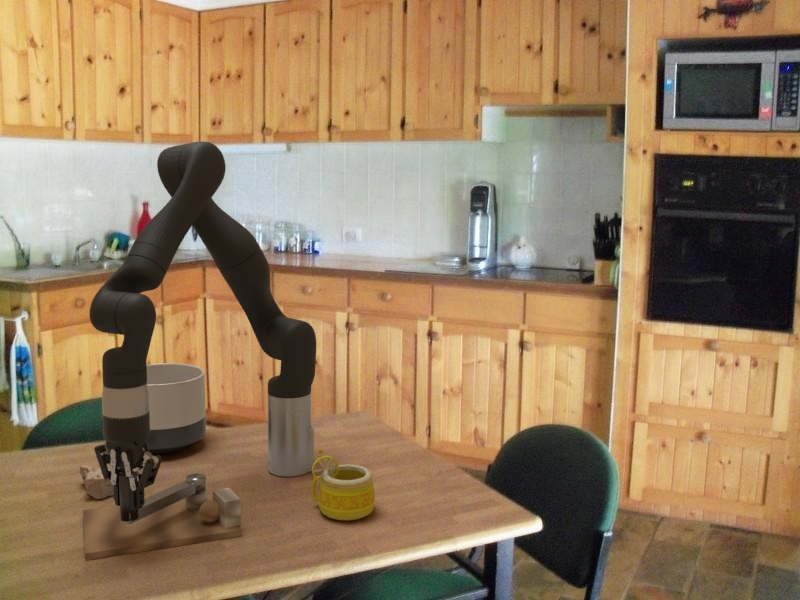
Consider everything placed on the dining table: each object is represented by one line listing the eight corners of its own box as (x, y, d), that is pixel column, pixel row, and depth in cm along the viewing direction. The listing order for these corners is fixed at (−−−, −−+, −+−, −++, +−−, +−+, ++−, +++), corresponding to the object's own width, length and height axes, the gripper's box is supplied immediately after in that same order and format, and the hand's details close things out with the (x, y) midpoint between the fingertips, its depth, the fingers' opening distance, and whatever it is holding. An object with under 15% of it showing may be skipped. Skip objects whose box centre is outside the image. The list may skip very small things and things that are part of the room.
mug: (383, 505, 158) (384, 446, 156) (362, 528, 148) (363, 466, 146) (323, 495, 162) (323, 438, 160) (299, 517, 152) (298, 456, 150)
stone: (86, 503, 157) (85, 479, 156) (79, 482, 167) (78, 460, 166) (134, 496, 161) (133, 472, 160) (124, 476, 171) (123, 454, 170)
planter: (103, 459, 179) (100, 382, 176) (142, 431, 198) (140, 361, 195) (186, 465, 177) (184, 386, 174) (218, 436, 196) (216, 365, 193)
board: (224, 497, 161) (224, 467, 160) (243, 535, 144) (242, 502, 143) (83, 516, 151) (81, 484, 150) (85, 560, 134) (83, 525, 133)
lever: (195, 484, 155) (194, 441, 154) (210, 487, 154) (209, 445, 152) (115, 521, 139) (113, 474, 137) (130, 526, 137) (128, 478, 136)
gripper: (173, 410, 136) (175, 507, 139) (113, 397, 142) (116, 490, 145) (140, 422, 129) (143, 524, 132) (78, 408, 136) (82, 505, 139)
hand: (129, 505), depth 139 cm, fingers closed on lever, 3 cm apart
